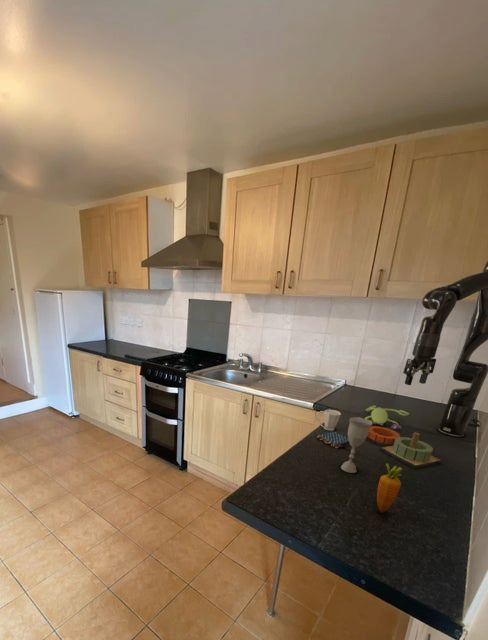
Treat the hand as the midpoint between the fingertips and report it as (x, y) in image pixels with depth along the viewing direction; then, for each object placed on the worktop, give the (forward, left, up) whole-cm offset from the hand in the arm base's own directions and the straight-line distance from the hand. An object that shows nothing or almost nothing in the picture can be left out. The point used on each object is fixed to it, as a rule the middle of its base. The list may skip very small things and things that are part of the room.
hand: (414, 383), depth 134 cm
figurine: (-10, -16, -25) cm, 31 cm away
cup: (+24, -17, -25) cm, 39 cm away
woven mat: (+31, -5, -25) cm, 40 cm away
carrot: (+53, +35, -25) cm, 68 cm away
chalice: (+43, +14, -25) cm, 51 cm away
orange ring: (+10, 0, -25) cm, 27 cm away
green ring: (+12, +14, -23) cm, 29 cm away
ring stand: (+12, +14, -25) cm, 30 cm away
